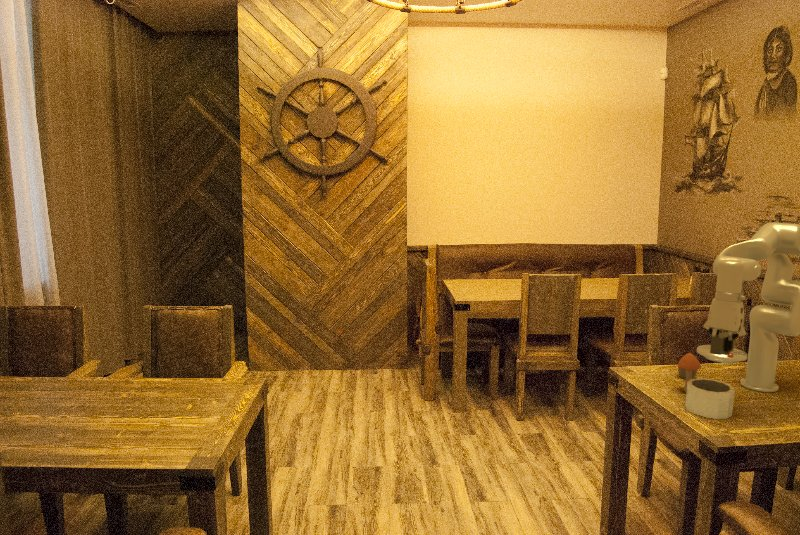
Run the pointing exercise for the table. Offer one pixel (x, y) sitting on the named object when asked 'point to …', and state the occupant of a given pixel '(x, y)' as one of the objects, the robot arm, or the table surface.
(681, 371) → the vase
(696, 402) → the pot
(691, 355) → the mushroom
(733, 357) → the lid
